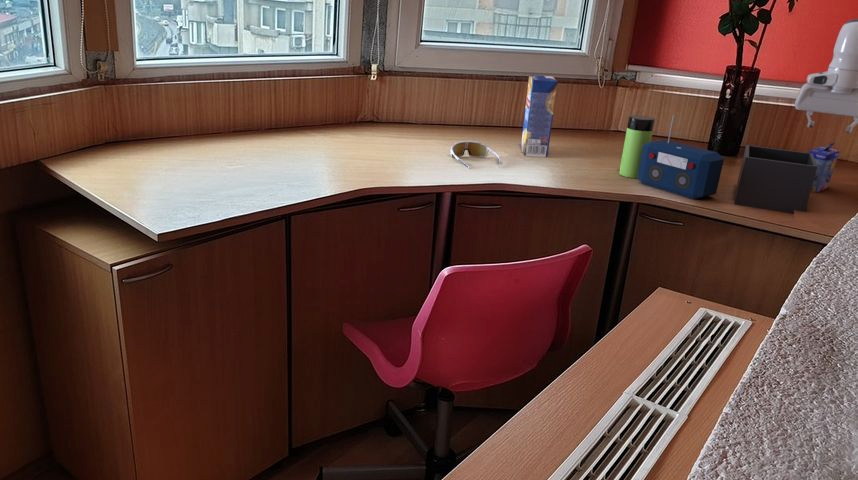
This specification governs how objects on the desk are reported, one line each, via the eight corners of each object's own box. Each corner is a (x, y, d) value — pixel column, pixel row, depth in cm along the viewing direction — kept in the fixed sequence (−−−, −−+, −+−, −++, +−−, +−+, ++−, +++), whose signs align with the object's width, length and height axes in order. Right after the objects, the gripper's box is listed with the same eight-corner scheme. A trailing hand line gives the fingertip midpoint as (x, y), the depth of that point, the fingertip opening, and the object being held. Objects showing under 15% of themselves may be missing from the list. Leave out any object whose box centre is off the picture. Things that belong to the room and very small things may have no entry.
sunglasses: (484, 154, 229) (487, 140, 227) (504, 173, 217) (507, 158, 214) (443, 156, 225) (445, 141, 222) (461, 175, 213) (464, 159, 210)
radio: (633, 182, 207) (646, 113, 199) (652, 179, 212) (665, 111, 204) (698, 202, 191) (714, 127, 184) (717, 197, 196) (733, 125, 189)
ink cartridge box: (816, 196, 203) (831, 145, 198) (796, 191, 207) (809, 141, 201) (828, 190, 209) (843, 141, 204) (808, 186, 213) (822, 138, 208)
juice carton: (547, 157, 231) (557, 81, 222) (524, 155, 231) (533, 79, 222) (542, 148, 242) (552, 76, 233) (520, 147, 243) (529, 74, 234)
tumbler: (618, 171, 219) (627, 114, 213) (643, 173, 218) (653, 115, 211) (620, 177, 212) (630, 118, 206) (646, 179, 211) (657, 120, 204)
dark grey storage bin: (800, 198, 200) (812, 153, 195) (803, 215, 185) (817, 166, 180) (735, 188, 206) (746, 144, 202) (734, 204, 191) (745, 157, 187)
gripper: (886, 83, 195) (869, 133, 200) (802, 74, 203) (788, 123, 208) (889, 85, 190) (873, 137, 195) (803, 76, 197) (789, 126, 203)
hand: (828, 130), depth 201 cm, fingers open, 8 cm apart
